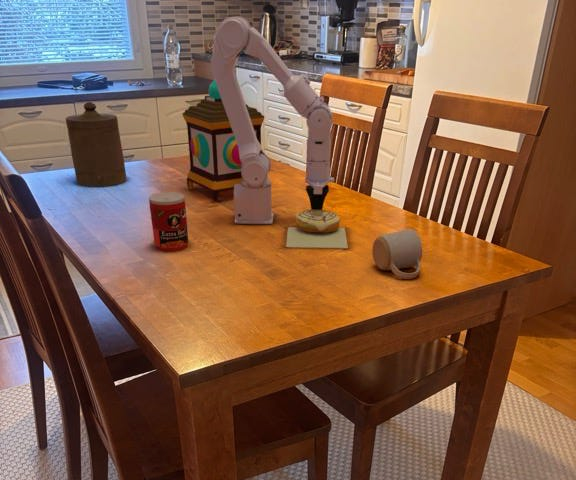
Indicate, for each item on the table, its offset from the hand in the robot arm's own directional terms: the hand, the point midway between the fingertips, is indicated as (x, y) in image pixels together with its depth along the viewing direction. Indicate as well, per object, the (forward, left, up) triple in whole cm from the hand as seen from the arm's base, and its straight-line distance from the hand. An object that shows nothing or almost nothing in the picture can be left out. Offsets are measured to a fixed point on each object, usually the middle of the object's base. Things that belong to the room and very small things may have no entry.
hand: (316, 215), depth 147 cm
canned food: (-33, -20, -2) cm, 38 cm away
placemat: (0, -13, -1) cm, 13 cm away
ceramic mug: (+17, -32, -2) cm, 36 cm away
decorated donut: (0, -7, -1) cm, 7 cm away
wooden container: (-66, +36, -2) cm, 75 cm away
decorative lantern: (-26, +26, -2) cm, 37 cm away
